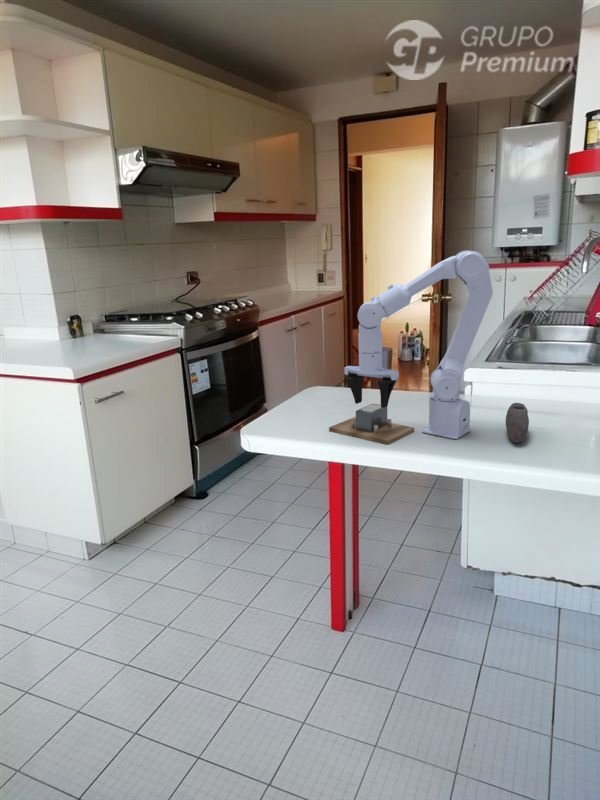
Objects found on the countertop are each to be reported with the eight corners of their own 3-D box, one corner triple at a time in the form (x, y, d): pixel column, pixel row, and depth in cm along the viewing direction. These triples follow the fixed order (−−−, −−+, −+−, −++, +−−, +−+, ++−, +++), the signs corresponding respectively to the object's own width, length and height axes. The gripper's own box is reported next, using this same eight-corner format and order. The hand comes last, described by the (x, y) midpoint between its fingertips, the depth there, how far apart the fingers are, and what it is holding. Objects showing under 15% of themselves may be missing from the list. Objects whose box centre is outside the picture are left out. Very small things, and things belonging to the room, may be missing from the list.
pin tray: (414, 431, 142) (414, 420, 142) (387, 444, 134) (387, 432, 133) (356, 419, 154) (356, 409, 153) (329, 431, 146) (328, 419, 145)
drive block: (387, 424, 146) (387, 405, 144) (371, 432, 140) (371, 413, 138) (372, 421, 148) (372, 403, 147) (355, 430, 142) (355, 410, 141)
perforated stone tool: (527, 449, 127) (529, 419, 126) (503, 447, 129) (504, 418, 128) (528, 428, 141) (529, 402, 139) (505, 427, 143) (507, 400, 141)
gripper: (404, 351, 137) (404, 404, 141) (354, 346, 146) (355, 397, 149) (390, 356, 132) (390, 411, 135) (339, 351, 141) (340, 403, 144)
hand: (371, 404), depth 142 cm, fingers open, 7 cm apart
